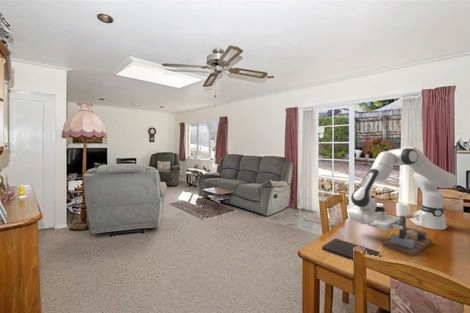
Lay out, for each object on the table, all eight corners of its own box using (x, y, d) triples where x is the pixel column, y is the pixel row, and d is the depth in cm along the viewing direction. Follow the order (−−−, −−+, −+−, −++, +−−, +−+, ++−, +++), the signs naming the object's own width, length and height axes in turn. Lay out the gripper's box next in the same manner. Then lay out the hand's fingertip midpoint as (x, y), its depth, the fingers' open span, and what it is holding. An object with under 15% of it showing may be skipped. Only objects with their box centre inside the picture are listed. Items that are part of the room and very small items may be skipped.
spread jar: (386, 219, 175) (386, 204, 174) (383, 223, 166) (384, 207, 166) (368, 216, 183) (368, 201, 182) (365, 219, 174) (365, 204, 173)
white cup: (409, 218, 178) (410, 205, 177) (397, 216, 180) (397, 204, 180) (405, 215, 185) (406, 202, 185) (394, 214, 188) (394, 202, 187)
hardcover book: (335, 242, 135) (335, 238, 135) (379, 256, 118) (379, 251, 118) (321, 250, 124) (322, 246, 124) (368, 267, 107) (368, 262, 107)
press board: (412, 256, 117) (413, 244, 116) (382, 246, 128) (383, 235, 128) (431, 242, 132) (431, 232, 132) (403, 235, 144) (403, 225, 144)
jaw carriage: (411, 248, 120) (412, 219, 120) (389, 241, 129) (390, 214, 128) (414, 246, 123) (415, 218, 122) (393, 240, 131) (394, 213, 130)
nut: (404, 236, 137) (405, 229, 137) (414, 237, 136) (414, 230, 136) (409, 239, 132) (410, 233, 132) (419, 240, 131) (419, 233, 131)
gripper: (368, 218, 130) (396, 225, 118) (384, 212, 141) (411, 218, 130) (368, 229, 130) (396, 237, 119) (384, 222, 142) (411, 228, 130)
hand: (404, 227), depth 124 cm, fingers closed on jaw carriage, 3 cm apart
